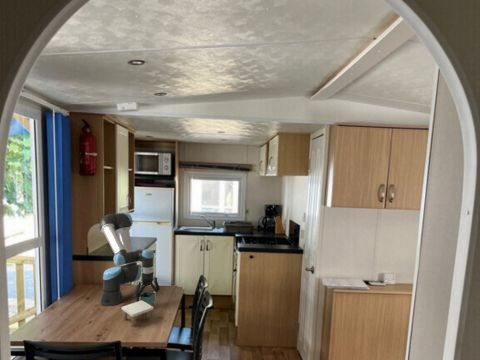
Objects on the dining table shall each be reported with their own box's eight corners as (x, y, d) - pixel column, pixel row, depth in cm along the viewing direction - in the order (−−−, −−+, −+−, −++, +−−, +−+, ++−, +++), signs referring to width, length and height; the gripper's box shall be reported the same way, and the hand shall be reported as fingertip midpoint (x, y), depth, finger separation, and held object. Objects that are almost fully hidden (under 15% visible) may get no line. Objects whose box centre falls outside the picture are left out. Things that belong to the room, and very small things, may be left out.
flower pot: (149, 310, 191) (149, 297, 191) (137, 309, 193) (137, 296, 193) (155, 305, 200) (156, 292, 200) (144, 303, 201) (144, 291, 201)
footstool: (121, 319, 179) (121, 307, 179) (141, 312, 189) (142, 300, 189) (132, 327, 169) (132, 314, 169) (153, 319, 180) (153, 307, 180)
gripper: (134, 277, 185) (133, 310, 185) (165, 269, 202) (164, 299, 203) (128, 274, 190) (127, 307, 190) (159, 267, 207) (158, 296, 208)
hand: (146, 303), depth 196 cm, fingers closed on flower pot, 11 cm apart
